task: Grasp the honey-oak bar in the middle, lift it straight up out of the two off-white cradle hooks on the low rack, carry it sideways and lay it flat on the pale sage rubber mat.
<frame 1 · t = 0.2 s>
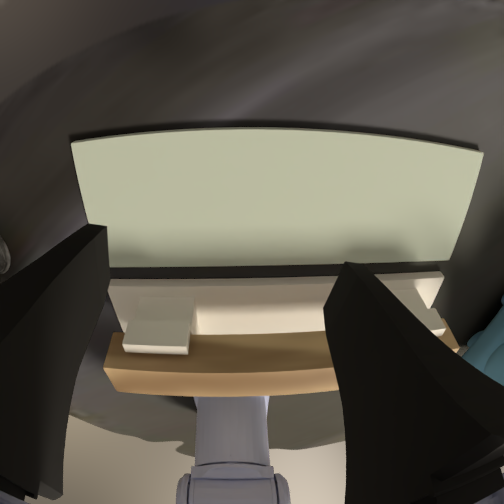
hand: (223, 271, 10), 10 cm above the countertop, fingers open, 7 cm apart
teakettle: (503, 316, 29), on the countertop
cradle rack: (283, 307, 25), on the countertop
oak bar: (289, 346, 21), point 4 cm above the countertop, touching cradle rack
sage mat: (294, 200, 19), on the countertop
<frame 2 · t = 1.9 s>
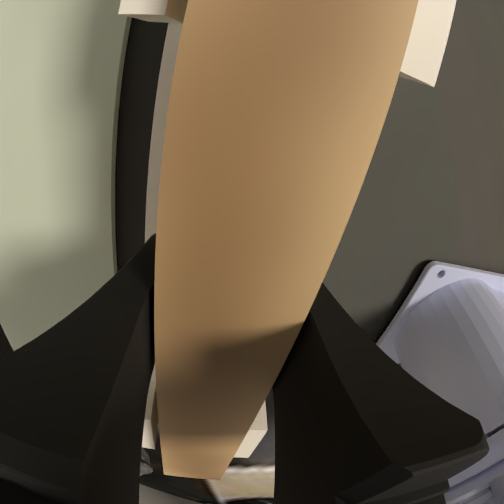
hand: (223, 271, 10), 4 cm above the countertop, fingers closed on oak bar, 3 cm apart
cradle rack: (226, 210, 13), on the countertop
oak bar: (223, 273, 9), point 4 cm above the countertop, touching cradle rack, gripper
sage mat: (25, 185, 11), on the countertop
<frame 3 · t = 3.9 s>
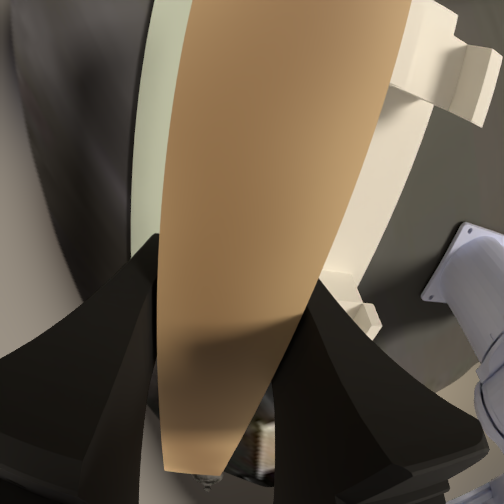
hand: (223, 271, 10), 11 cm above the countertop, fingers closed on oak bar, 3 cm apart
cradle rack: (355, 181, 19), on the countertop
oak bar: (224, 268, 10), point 10 cm above the countertop, touching gripper
sage mat: (211, 152, 18), on the countertop
when the fingers open (2 cm above the countertop, at t = 5.9 s): oak bar drops 1 cm, resting on sage mat.
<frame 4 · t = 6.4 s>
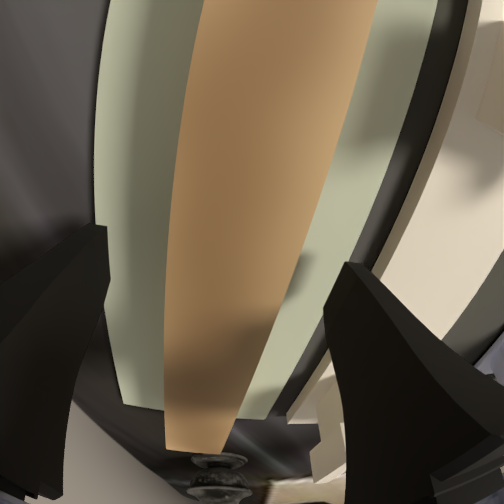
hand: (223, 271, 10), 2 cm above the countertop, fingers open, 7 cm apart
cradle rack: (432, 267, 13), on the countertop
oak bar: (224, 242, 11), resting on sage mat
sage mat: (225, 234, 11), on the countertop
grey chess piece: (219, 458, 26), on the countertop
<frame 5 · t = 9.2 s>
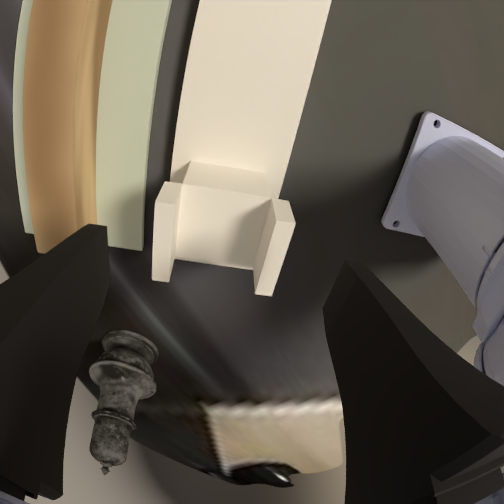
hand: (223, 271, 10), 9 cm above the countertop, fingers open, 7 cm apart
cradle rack: (254, 45, 14), on the countertop
oak bar: (81, 33, 12), resting on sage mat
sage mat: (85, 33, 12), on the countertop
grey chess piece: (130, 347, 27), on the countertop
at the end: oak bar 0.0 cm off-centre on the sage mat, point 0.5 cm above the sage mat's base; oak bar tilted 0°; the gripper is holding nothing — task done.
